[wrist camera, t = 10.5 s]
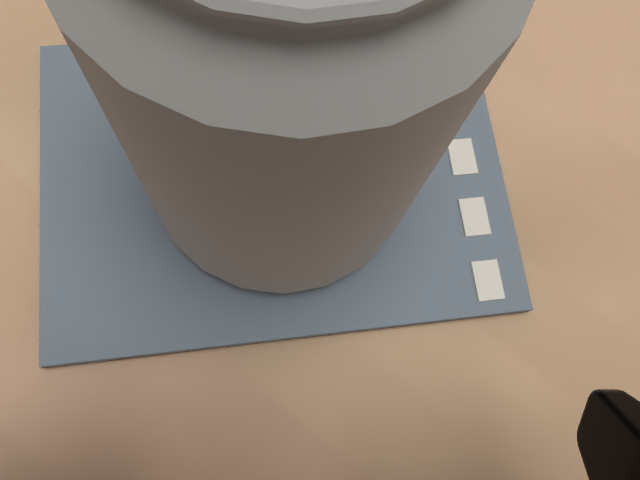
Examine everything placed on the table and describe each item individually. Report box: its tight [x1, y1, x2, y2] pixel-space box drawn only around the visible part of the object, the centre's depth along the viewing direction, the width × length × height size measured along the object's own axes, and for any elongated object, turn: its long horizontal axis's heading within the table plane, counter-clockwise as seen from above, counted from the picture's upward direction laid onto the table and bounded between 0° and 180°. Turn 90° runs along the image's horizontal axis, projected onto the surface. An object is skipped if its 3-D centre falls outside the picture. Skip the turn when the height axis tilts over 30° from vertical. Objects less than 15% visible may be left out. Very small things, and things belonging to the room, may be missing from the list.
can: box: [45, 0, 535, 294], centre depth 13 cm, size 8×8×12 cm
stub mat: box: [39, 45, 533, 368], centre depth 19 cm, size 14×10×1 cm
